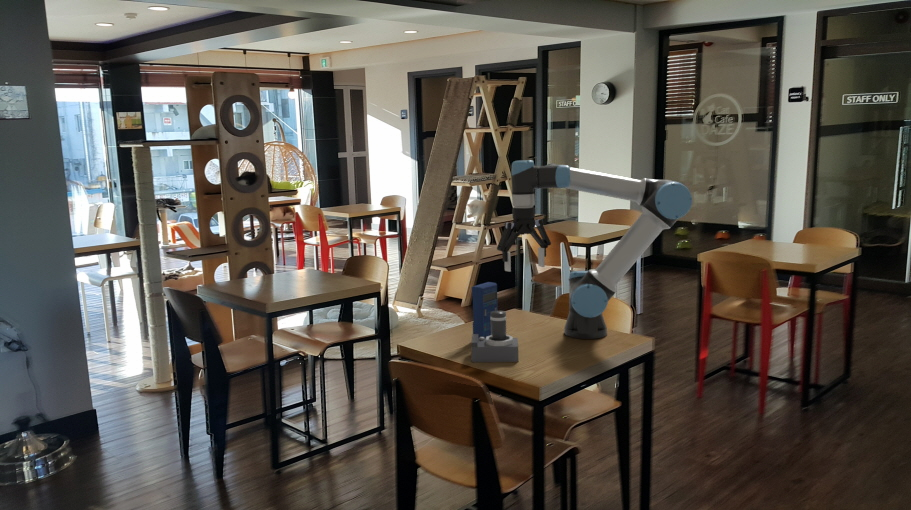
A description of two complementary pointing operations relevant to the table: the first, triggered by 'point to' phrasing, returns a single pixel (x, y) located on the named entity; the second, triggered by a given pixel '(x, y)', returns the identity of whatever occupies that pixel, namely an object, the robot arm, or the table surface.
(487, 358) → the camera body
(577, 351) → the table surface
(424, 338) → the table surface
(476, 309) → the electronic device
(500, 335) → the lens
